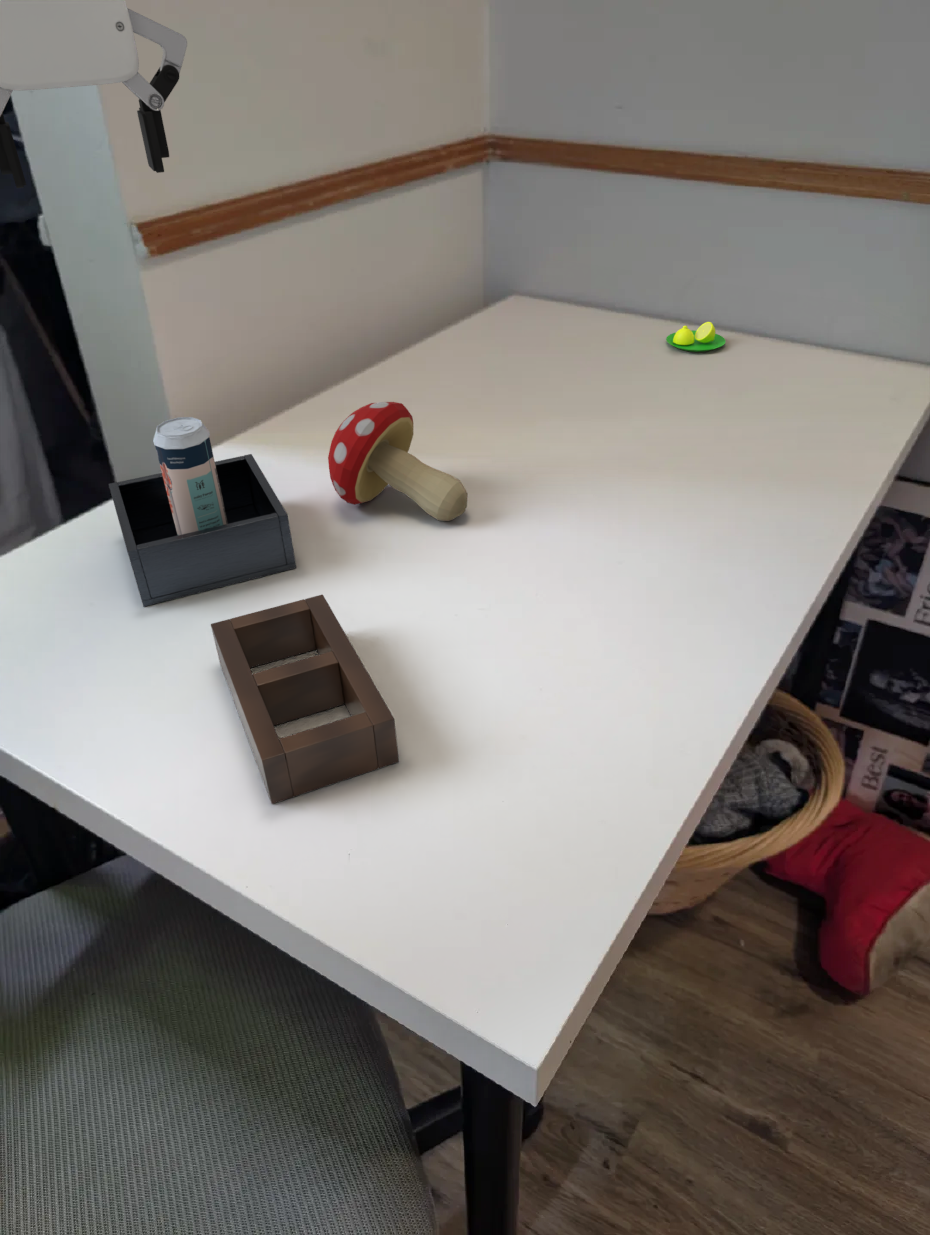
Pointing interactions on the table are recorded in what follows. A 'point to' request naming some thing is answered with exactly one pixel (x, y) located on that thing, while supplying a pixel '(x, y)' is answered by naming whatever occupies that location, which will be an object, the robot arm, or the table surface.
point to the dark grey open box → (203, 534)
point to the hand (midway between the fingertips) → (90, 177)
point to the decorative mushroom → (389, 462)
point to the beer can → (189, 474)
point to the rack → (303, 697)
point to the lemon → (696, 338)
